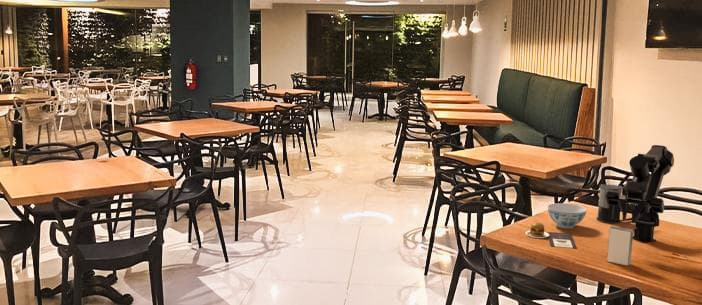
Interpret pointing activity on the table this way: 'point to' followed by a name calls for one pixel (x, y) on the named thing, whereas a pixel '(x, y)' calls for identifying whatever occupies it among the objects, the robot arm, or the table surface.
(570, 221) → the chinaware
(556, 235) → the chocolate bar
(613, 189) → the milk frother
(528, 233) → the hamburger
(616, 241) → the ceramic tile
